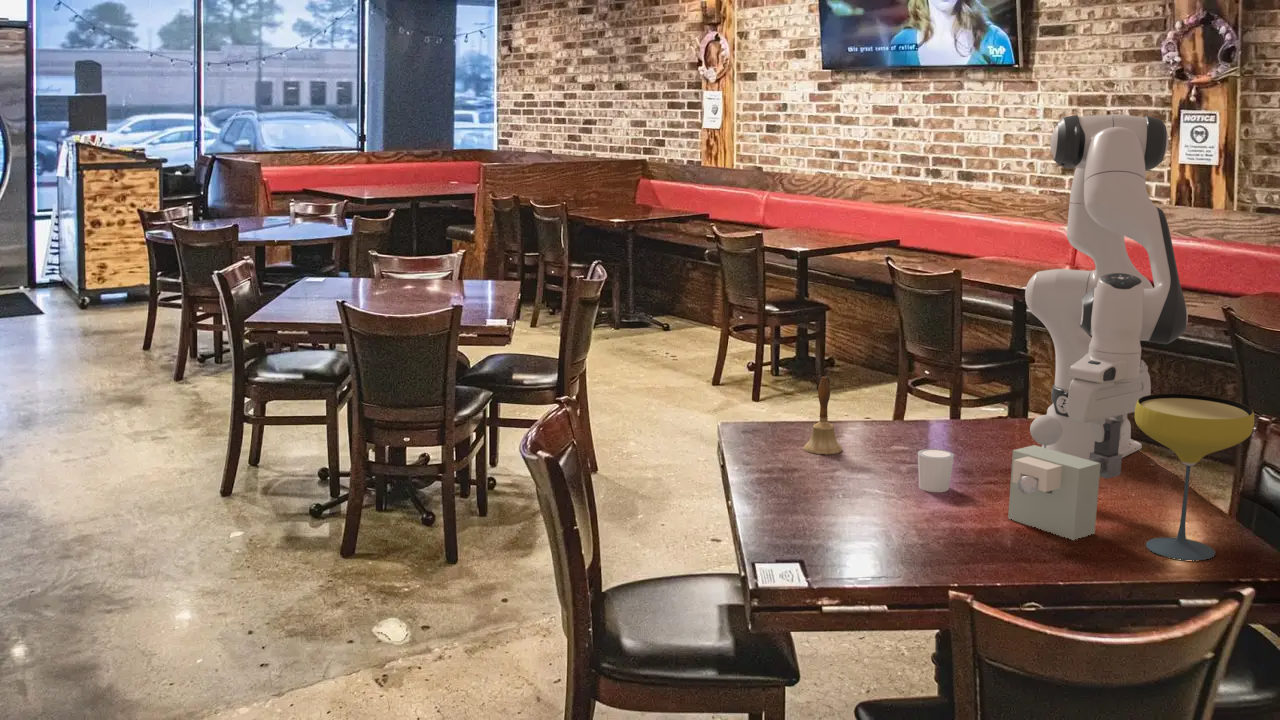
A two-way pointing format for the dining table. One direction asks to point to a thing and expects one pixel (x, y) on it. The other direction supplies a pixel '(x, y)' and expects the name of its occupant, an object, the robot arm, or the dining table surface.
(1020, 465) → the block
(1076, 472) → the grey slotted block
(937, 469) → the white cup
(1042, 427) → the lollipop
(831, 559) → the dining table surface
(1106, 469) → the hammer
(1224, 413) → the cocktail glass
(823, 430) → the hand bell
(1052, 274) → the robot arm
